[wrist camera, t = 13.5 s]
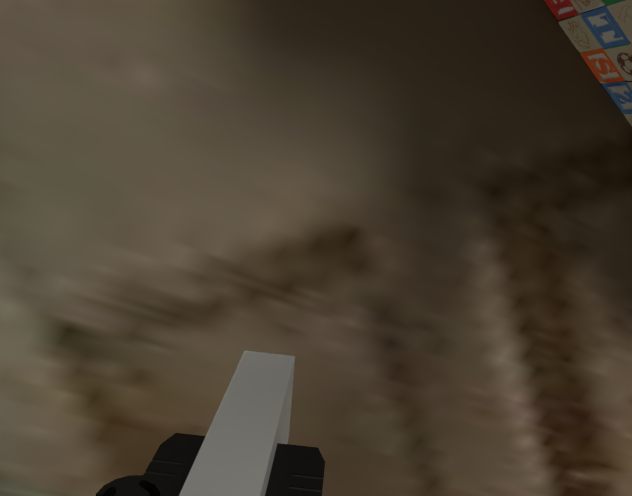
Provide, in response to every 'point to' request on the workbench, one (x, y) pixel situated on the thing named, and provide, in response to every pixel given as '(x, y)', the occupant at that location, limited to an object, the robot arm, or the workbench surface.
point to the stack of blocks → (602, 42)
